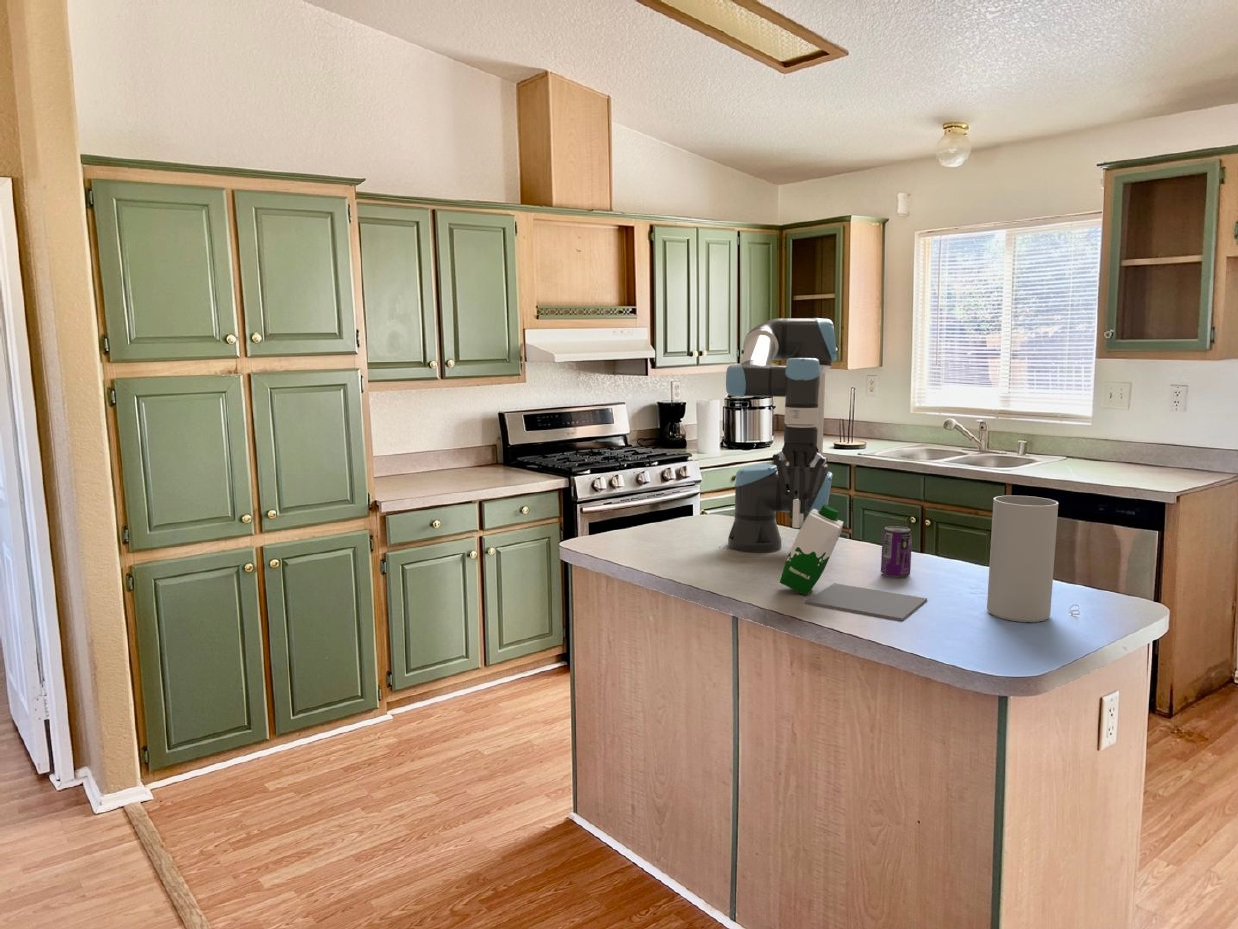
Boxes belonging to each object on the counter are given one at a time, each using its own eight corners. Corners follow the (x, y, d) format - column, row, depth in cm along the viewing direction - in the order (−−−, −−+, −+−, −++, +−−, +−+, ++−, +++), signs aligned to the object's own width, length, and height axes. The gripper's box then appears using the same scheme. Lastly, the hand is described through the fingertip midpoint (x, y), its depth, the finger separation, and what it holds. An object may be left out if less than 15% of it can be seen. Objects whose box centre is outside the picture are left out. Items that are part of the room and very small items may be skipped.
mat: (804, 603, 200) (804, 600, 200) (834, 585, 215) (834, 583, 215) (902, 621, 188) (902, 618, 188) (927, 601, 203) (927, 598, 203)
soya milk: (815, 589, 213) (850, 514, 208) (809, 599, 205) (845, 522, 200) (781, 572, 215) (814, 498, 210) (774, 582, 207) (809, 505, 202)
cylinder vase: (976, 606, 198) (983, 495, 195) (1030, 605, 199) (1038, 495, 196) (1004, 624, 186) (1012, 506, 183) (1062, 623, 187) (1070, 505, 184)
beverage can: (911, 579, 220) (914, 532, 219) (881, 578, 222) (884, 531, 220) (908, 572, 227) (910, 526, 226) (879, 571, 229) (881, 525, 227)
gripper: (767, 425, 205) (765, 526, 208) (821, 428, 198) (817, 533, 201) (781, 422, 211) (779, 520, 215) (834, 426, 204) (830, 527, 207)
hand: (797, 526), depth 208 cm, fingers closed
